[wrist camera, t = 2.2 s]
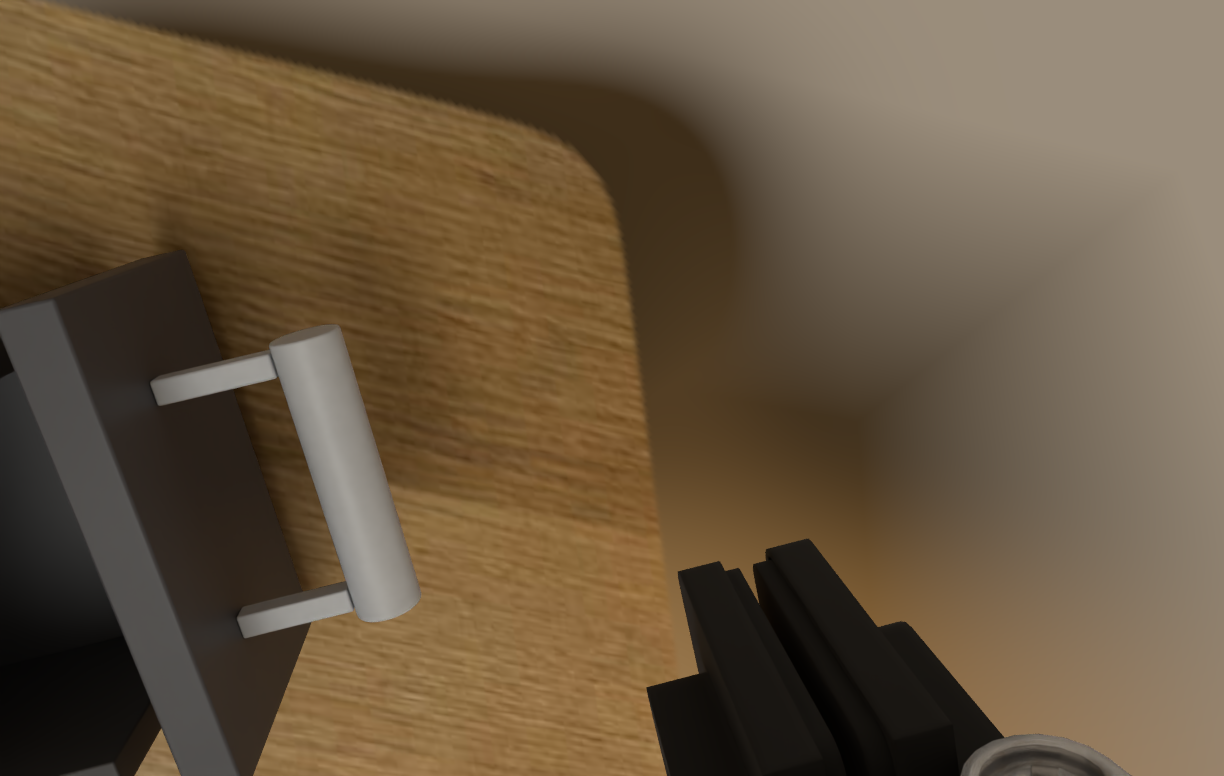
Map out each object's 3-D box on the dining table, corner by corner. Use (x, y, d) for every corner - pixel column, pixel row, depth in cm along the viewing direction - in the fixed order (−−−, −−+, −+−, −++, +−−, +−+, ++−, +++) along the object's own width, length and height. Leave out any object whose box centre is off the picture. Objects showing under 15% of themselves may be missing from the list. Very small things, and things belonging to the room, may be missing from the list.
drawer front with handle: (344, 212, 25) (280, 245, 18) (453, 585, 29) (438, 745, 21) (-334, 367, 24) (-701, 470, 17) (-143, 734, 28) (-381, 958, 20)
